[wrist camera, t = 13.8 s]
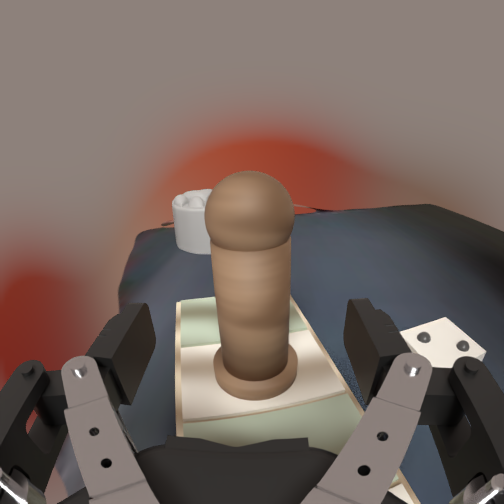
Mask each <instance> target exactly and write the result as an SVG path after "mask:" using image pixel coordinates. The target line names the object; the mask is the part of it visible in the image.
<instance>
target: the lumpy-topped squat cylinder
mask: <svg viewBox="0 0 504 504" xmlns="http://www.w3.org/2000/svg"><path fill="white" fill-rule="evenodd" d="M211 192H212V190H211V189H204V190H199V191H189V192H186V193H184V194H183V195H178V196H176V197H175V199H174V200H173V201H172V208H173V217H174V226H175V235H176V243H177V245H178V247H179V248H180V249H182V250H184V251H187V252H190V253H196V254H211V248H210V237H209V235H208V233H207V230H206V226H205V220H204V212H205V206H206V202H207V200H208V197H209V195H210V193H211Z"/></svg>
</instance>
